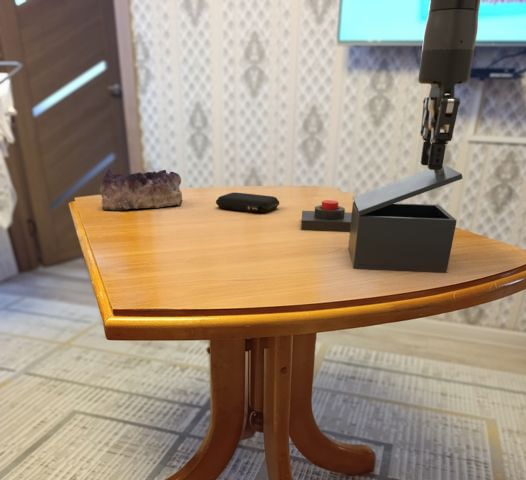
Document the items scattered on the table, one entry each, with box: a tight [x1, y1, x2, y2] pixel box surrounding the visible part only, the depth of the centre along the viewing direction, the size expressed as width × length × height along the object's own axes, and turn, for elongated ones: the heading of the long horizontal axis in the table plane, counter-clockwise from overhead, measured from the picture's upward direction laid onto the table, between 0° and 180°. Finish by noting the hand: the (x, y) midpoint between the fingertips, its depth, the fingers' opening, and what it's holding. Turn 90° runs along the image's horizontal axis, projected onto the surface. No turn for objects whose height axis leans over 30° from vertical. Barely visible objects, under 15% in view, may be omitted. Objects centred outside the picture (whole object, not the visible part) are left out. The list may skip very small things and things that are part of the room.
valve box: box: [347, 201, 457, 274], centre depth 90 cm, size 16×13×9 cm
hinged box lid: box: [352, 147, 463, 216], centre depth 85 cm, size 16×13×5 cm
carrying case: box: [215, 192, 280, 214], centre depth 127 cm, size 11×3×15 cm
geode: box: [99, 169, 183, 212], centre depth 126 cm, size 20×12×10 cm, turn 125°
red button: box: [321, 199, 339, 210], centre depth 112 cm, size 4×4×2 cm
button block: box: [300, 204, 352, 233], centre depth 113 cm, size 12×10×4 cm
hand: (430, 166), depth 84 cm, fingers closed on hinged box lid, 5 cm apart
